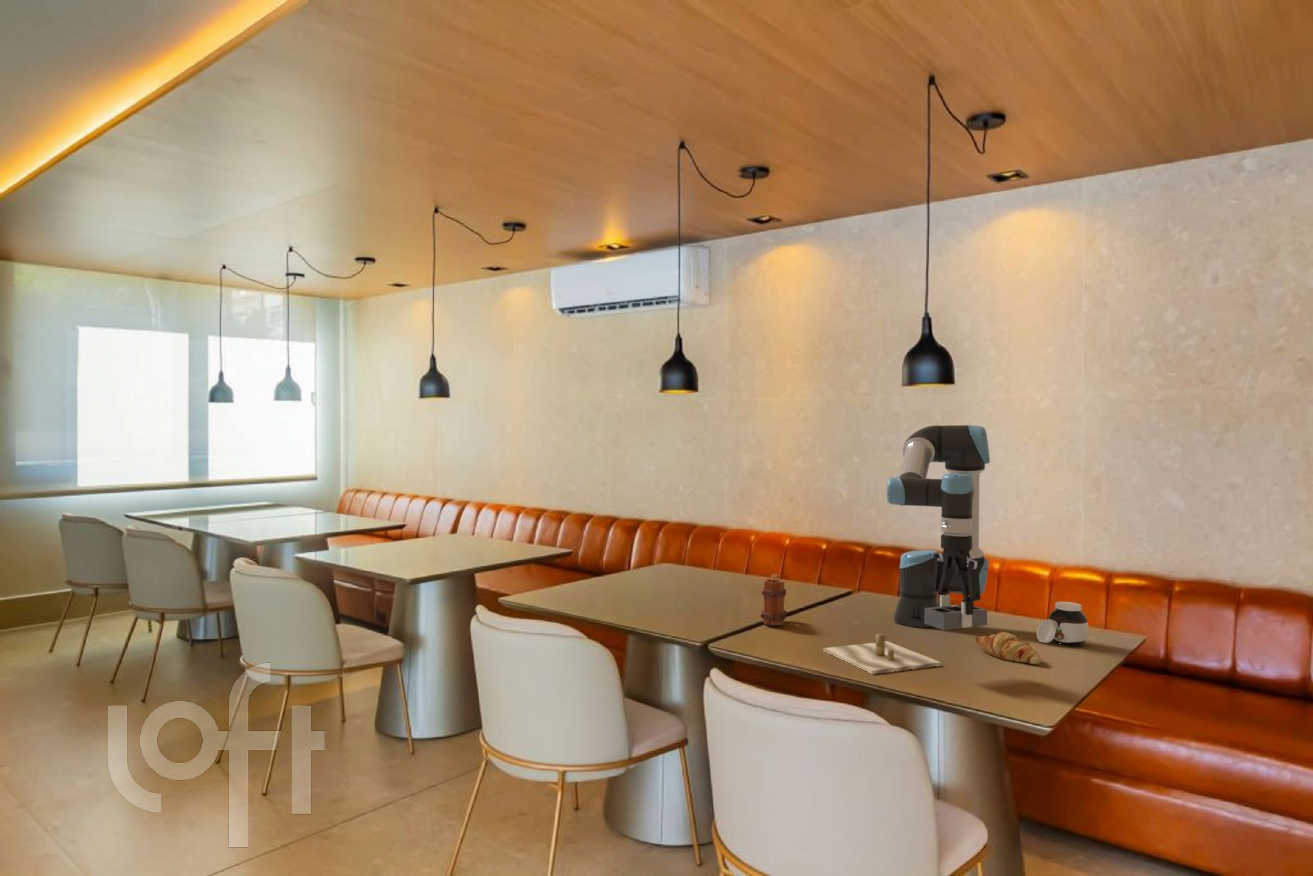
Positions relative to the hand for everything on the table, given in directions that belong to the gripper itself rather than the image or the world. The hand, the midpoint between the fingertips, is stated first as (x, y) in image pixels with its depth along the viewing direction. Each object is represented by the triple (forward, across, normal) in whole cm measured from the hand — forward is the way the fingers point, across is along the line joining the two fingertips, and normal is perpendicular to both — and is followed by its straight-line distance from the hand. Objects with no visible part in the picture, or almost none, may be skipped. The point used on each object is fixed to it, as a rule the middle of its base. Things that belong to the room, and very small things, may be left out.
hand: (955, 623), depth 202 cm
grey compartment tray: (0, 0, 0) cm, 0 cm away
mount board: (+13, -18, -10) cm, 24 cm away
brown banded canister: (+13, -63, -16) cm, 66 cm away
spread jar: (+13, -12, +51) cm, 54 cm away
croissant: (+13, -7, +25) cm, 29 cm away
